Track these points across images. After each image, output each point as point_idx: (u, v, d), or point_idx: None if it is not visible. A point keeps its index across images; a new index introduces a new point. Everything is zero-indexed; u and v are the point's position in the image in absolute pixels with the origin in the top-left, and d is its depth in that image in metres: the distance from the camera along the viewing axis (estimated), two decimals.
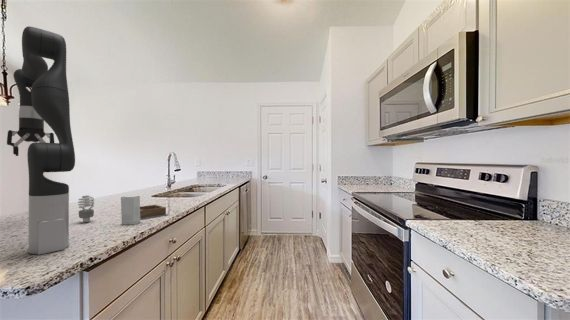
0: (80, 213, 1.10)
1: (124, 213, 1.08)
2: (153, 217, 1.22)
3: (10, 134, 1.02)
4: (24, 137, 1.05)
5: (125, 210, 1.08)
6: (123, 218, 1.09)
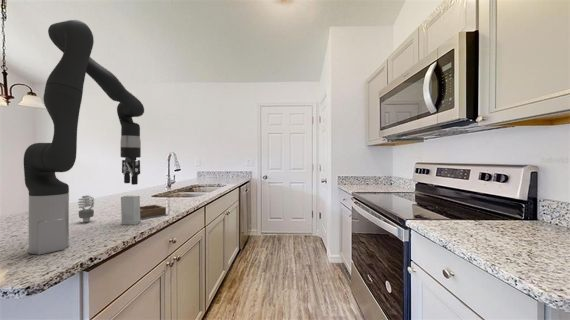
0: (80, 213, 1.10)
1: (124, 213, 1.08)
2: (153, 217, 1.22)
3: None
4: None
5: (125, 210, 1.08)
6: (123, 218, 1.09)
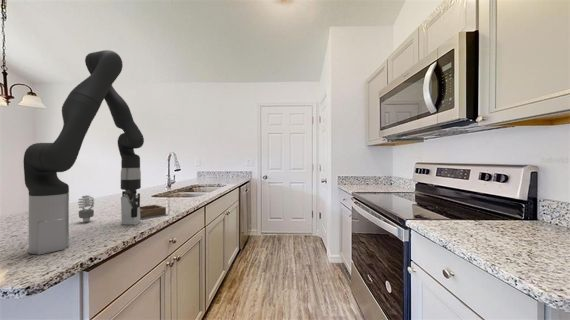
0: (80, 213, 1.10)
1: (124, 213, 1.08)
2: (153, 217, 1.22)
3: None
4: None
5: (125, 210, 1.08)
6: (123, 218, 1.09)
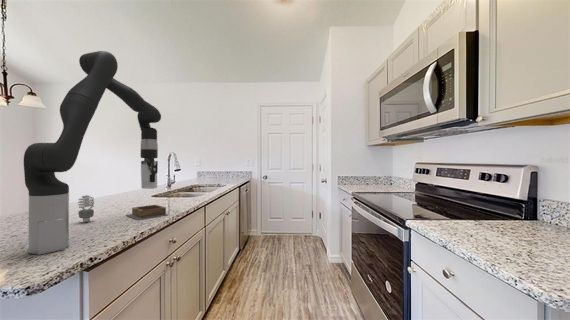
0: (80, 213, 1.10)
1: (143, 178, 1.25)
2: (153, 217, 1.22)
3: None
4: None
5: (145, 176, 1.24)
6: (143, 183, 1.25)
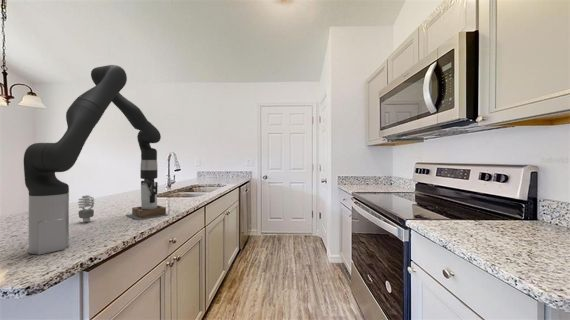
0: (80, 213, 1.10)
1: (143, 199, 1.25)
2: (153, 217, 1.22)
3: None
4: None
5: (145, 196, 1.25)
6: (143, 203, 1.25)
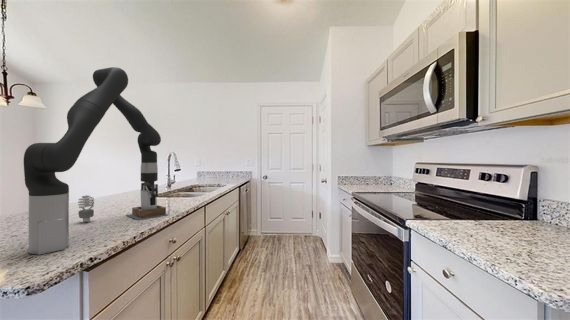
0: (80, 213, 1.10)
1: (143, 205, 1.25)
2: (153, 217, 1.22)
3: None
4: None
5: (144, 202, 1.24)
6: (142, 209, 1.25)
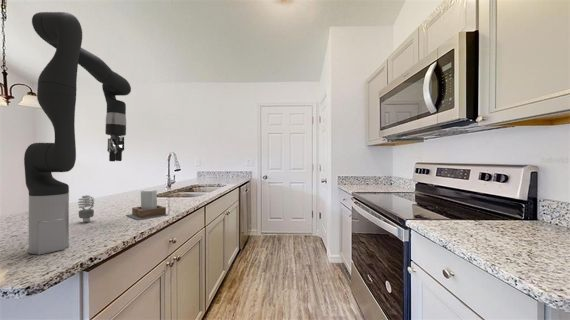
0: (80, 213, 1.10)
1: (143, 205, 1.25)
2: (153, 217, 1.22)
3: None
4: None
5: (145, 202, 1.24)
6: (142, 209, 1.25)
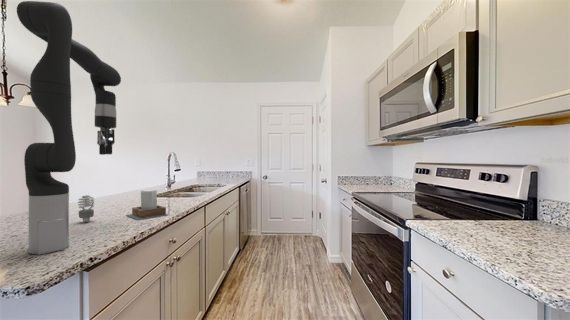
0: (80, 213, 1.10)
1: (143, 205, 1.25)
2: (153, 217, 1.22)
3: None
4: None
5: (145, 202, 1.24)
6: (142, 209, 1.25)
